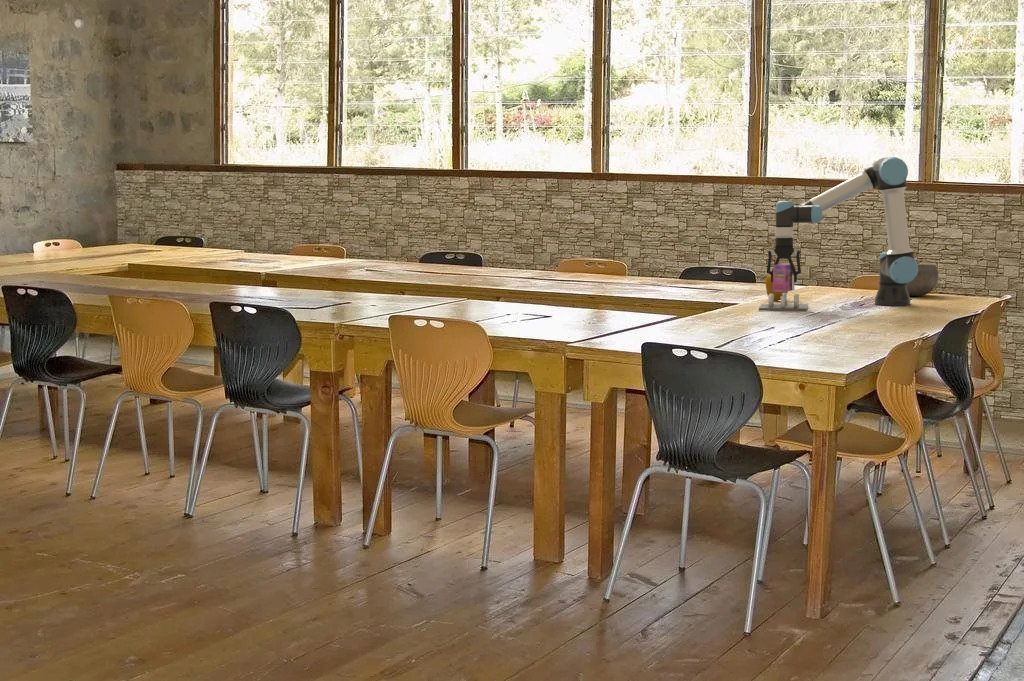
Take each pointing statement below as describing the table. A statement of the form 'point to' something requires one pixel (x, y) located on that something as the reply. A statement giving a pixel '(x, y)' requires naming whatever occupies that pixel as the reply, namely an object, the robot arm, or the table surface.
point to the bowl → (923, 280)
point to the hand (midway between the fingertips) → (783, 289)
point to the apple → (770, 289)
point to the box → (782, 277)
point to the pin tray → (787, 307)
